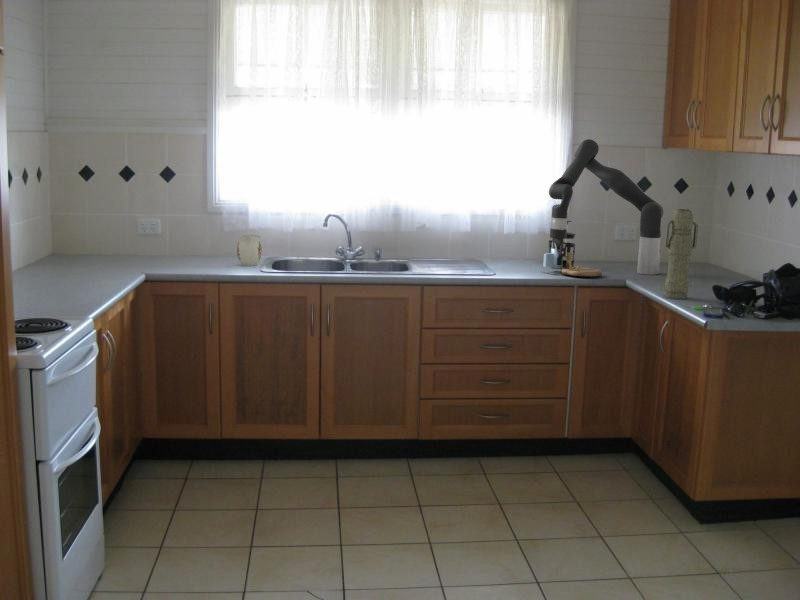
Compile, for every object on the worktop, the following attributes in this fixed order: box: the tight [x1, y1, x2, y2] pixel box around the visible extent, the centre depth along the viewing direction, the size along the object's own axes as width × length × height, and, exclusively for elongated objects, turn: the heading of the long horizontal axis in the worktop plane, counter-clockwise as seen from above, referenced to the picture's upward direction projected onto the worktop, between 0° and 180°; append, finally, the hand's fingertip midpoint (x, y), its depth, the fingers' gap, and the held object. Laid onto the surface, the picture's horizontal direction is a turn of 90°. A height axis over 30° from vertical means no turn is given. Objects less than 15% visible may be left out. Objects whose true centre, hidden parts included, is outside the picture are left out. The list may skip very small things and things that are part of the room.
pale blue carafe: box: [542, 248, 564, 270], centre depth 402 cm, size 10×6×9 cm, turn 117°
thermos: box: [664, 208, 699, 300], centre depth 345 cm, size 9×12×35 cm
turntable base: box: [571, 275, 592, 278], centre depth 398 cm, size 9×9×1 cm
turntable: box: [561, 251, 603, 277], centre depth 397 cm, size 18×18×8 cm
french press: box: [562, 219, 577, 268], centre depth 418 cm, size 12×9×23 cm
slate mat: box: [540, 269, 565, 276], centre depth 404 cm, size 10×10×1 cm
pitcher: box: [236, 234, 262, 267], centre depth 398 cm, size 11×18×14 cm, turn 7°
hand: (556, 264), depth 403 cm, fingers closed on pale blue carafe, 5 cm apart
